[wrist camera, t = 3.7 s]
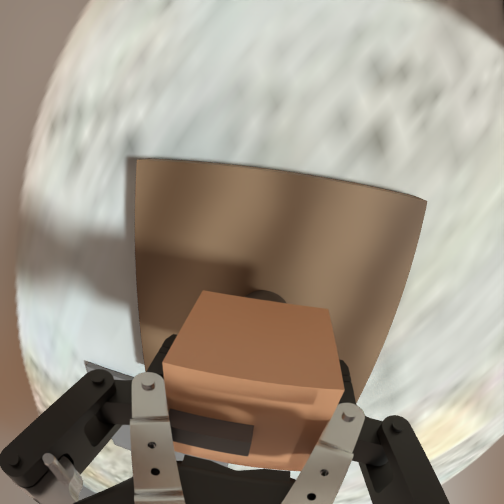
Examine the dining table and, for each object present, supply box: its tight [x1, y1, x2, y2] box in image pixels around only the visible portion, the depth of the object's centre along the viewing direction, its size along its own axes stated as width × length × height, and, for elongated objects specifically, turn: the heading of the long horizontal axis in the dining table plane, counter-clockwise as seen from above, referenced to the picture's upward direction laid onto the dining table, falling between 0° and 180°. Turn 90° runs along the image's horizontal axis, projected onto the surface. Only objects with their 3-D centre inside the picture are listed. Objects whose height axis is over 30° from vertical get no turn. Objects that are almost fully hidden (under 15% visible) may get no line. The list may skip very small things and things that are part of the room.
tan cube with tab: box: [162, 290, 345, 471], centre depth 11 cm, size 6×6×6 cm
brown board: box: [135, 158, 427, 403], centre depth 14 cm, size 16×16×9 cm
